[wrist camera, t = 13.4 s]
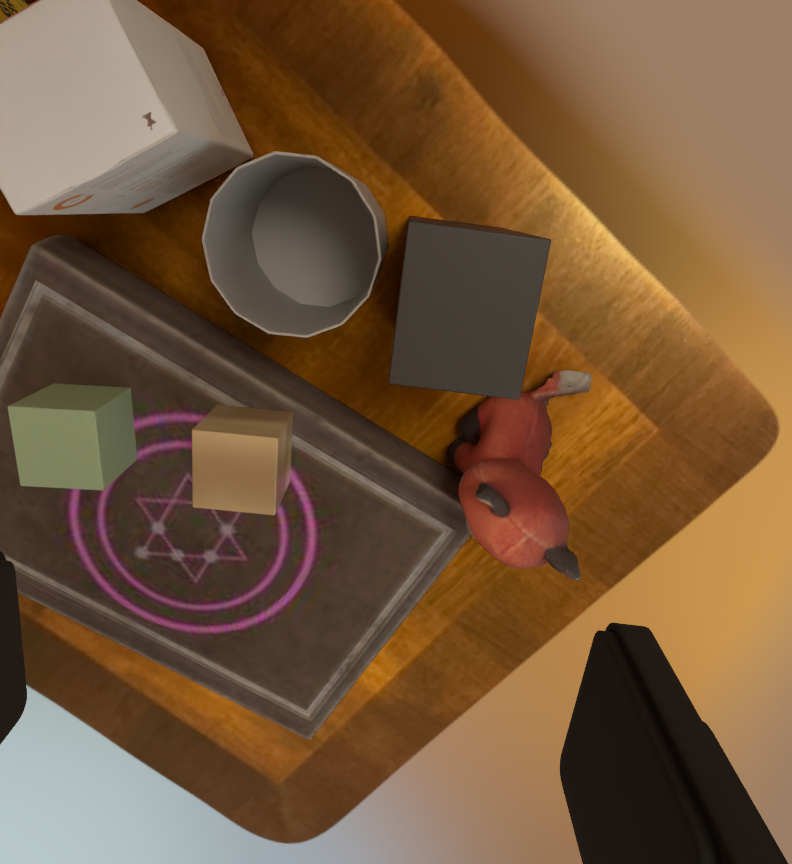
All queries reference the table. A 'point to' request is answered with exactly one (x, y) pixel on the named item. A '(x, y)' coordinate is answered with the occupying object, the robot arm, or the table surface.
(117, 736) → the table surface
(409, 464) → the book
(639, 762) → the robot arm
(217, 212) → the cup
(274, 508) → the birch block
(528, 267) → the stand
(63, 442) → the sage block
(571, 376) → the stuffed fox
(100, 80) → the small box
